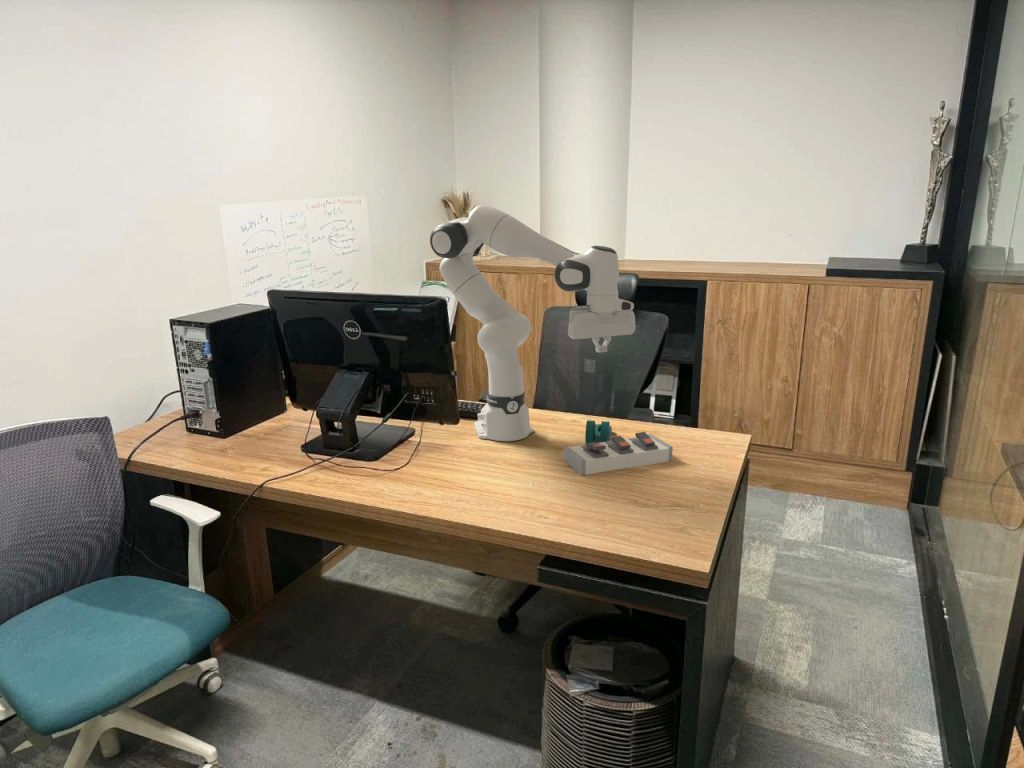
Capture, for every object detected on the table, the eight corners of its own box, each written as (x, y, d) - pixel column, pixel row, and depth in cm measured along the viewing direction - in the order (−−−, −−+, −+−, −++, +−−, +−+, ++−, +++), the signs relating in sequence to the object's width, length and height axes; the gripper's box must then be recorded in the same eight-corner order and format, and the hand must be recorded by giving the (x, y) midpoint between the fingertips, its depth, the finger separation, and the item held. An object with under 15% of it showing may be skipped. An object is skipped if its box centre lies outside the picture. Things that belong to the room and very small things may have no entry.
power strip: (563, 460, 204) (563, 445, 203) (650, 447, 214) (650, 432, 213) (581, 475, 193) (581, 459, 192) (672, 460, 203) (672, 445, 202)
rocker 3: (635, 435, 206) (635, 432, 205) (644, 434, 207) (644, 431, 206) (645, 446, 201) (646, 443, 200) (654, 445, 202) (655, 442, 201)
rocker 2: (611, 440, 203) (611, 436, 203) (620, 438, 204) (620, 435, 204) (621, 449, 198) (621, 446, 198) (630, 448, 199) (630, 445, 199)
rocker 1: (586, 446, 201) (586, 443, 200) (595, 445, 202) (595, 441, 201) (596, 450, 195) (595, 446, 195) (605, 449, 196) (605, 445, 196)
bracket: (607, 450, 213) (607, 425, 211) (585, 448, 215) (585, 424, 213) (612, 431, 230) (613, 408, 228) (592, 430, 232) (592, 407, 229)
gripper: (574, 308, 192) (573, 357, 196) (638, 303, 199) (637, 350, 203) (564, 305, 198) (564, 352, 202) (627, 300, 205) (626, 346, 209)
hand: (601, 351), depth 202 cm, fingers closed
